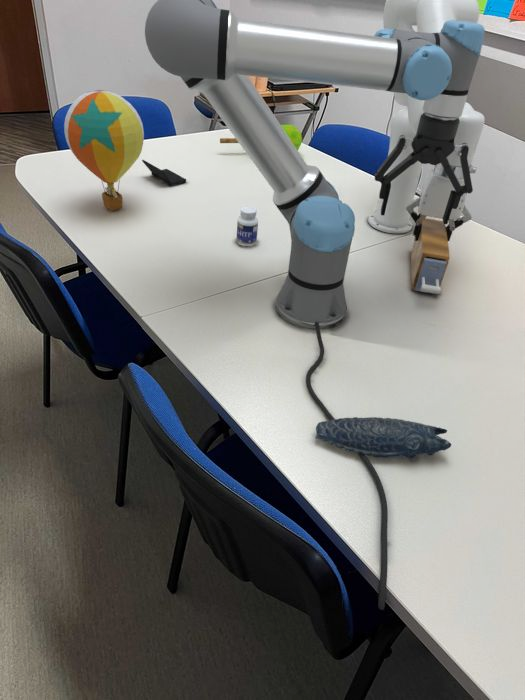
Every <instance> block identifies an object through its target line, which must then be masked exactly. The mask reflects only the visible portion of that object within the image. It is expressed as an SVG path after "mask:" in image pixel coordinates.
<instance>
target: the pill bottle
mask: <svg viewBox="0 0 525 700" xmlns="http://www.w3.org/2000/svg"><path fill="white" fill-rule="evenodd" d="M258 229H259V219H258V217H257V209H256V208H255V207H253V206H243V207H241V208H240V215H239V216H238V217H237V223H236V239H235V240H236V242H237V244H238V245H240V246H244V247H252V246H254V245H256V244H257V240H258Z"/></svg>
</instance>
